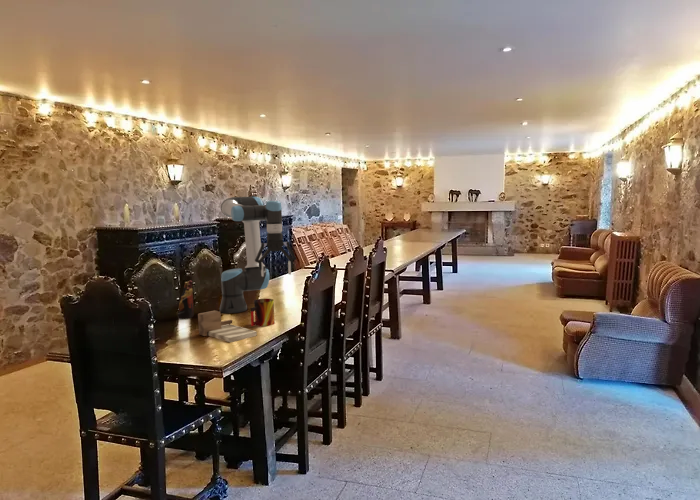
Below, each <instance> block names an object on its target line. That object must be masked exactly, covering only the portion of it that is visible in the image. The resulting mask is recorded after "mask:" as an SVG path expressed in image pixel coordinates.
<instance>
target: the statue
mask: <svg viewBox="0 0 700 500" xmlns="http://www.w3.org/2000/svg"><path fill="white" fill-rule="evenodd" d="M194 309H195V308H194V291H193V280H191V279H190V280H188V281H185V282H184V286H183V291H182V293H181V295H180V301H179V304H178V310H177V311H178V313H177V318H178V319H177V320H190V319H192V318H193V317H194V315H195V312H194Z"/></svg>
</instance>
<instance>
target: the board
mask: <svg viewBox="0 0 700 500" xmlns="http://www.w3.org/2000/svg"><path fill="white" fill-rule="evenodd" d="M257 335H258V334H257V331H256V330H252V329H249V328H246V327H242V326H240V325H239V326H238V325H235V324H233V323H232V324H230V325H229V324H228V325H223V326H221V329H217V330H213V331H209V332H207V336H209V337H212V338H216V339H218V340H221V341H225V342H227V343H233V342H237V341H241V340H246V339H248V338H249V339H250V338H254V337H256V336H257Z"/></svg>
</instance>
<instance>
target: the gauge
mask: <svg viewBox="0 0 700 500" xmlns="http://www.w3.org/2000/svg"><path fill="white" fill-rule="evenodd" d="M221 313H222V312H220V310H219V311H218V310H215V309H214V310H211V311H206V312H204V311H203V312H200V313H198V314H197V321H198V334H199V335H201V336H202V337H203V336H204V337H205V336H206V337H208V335H207V332H209V331H213V330H217V329H221V326H223V325H228V324H229V325H230V324H232V325H233V319H227V320H222V319H221V318H222V317H221V315H222V314H221Z"/></svg>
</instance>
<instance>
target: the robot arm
mask: <svg viewBox="0 0 700 500" xmlns="http://www.w3.org/2000/svg"><path fill="white" fill-rule="evenodd" d="M220 211H221V213H222V214H223V216H225V217H227V218H231V220H232V221H234V222H242V223H243V227H244V237H245V238H244V240H245V252H246V265H245V266H244V270H243V268H241V267H240V268H239V267H238V268H231V269H227V270H224V271H223V272H222V273H221V276H220V281H221V295H222V296H221V301H220V305H219V312H221V313H222V314H237V313H242V312H246V311H247V310H248V305H247V303H246V300H245V297H244V292H250V291H260V290H265V289H267V288H268V285H269V284H270V283H269V282H270V272H269V271H270V270H269V269H268V268H266V265H265V264H264V263H263V261H264V260H265V259H266V257H267V256H268V255H269V253H271V252H274V253H275V252H281V253H282V254H283V255H284V256H285V257H286V258H287V259H288V261H287V262H288V263H287V268H288V269H287V270H288V273H287V274H288V275H290V276H291V275H292V268H293V267H294V264H293V263H294V261H297V258H296V255H295V254H294V251H293V249H292V247H291V245H290V242H289V241H285V242H284V241H283V214H282V212H283V207H282V202H281V201H280V200H279V201H278V200H271V201H268V200H267V201H266V203H265V204H264V203H263V200H262V199H261V197H258V196H253V195H252V196H232V197H228V198H226V199H224V200H223V201H222V202H221V204H220ZM261 221H266V233H267V234H266V238H267V239H266V242H261V230H260V222H261ZM284 246H285V247H286V248H287V250H288V252H289V254H288V252H286V250H285V249H284V248H283V247H284ZM266 247H267V249H266V251H265V252H264V253H263V251H264V248H266Z"/></svg>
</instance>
